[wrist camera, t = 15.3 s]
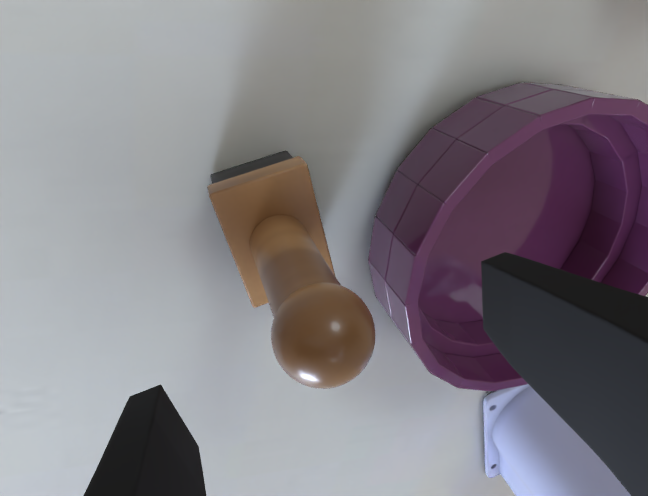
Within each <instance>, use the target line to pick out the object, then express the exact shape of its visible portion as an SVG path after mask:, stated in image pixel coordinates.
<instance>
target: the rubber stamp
mask: <svg viewBox="0 0 648 496" xmlns="http://www.w3.org/2000/svg"><path fill="white" fill-rule="evenodd" d="M211 179H212V183H213V184H211V185H208V187H207V188H208V193H209V197H210V199H211V202H212V205H213V207H214V210H215V212H216V215H217V217H218V220H219V222H220V225H221V227H222V230H223V232H224V235H225V238H226V240H227V243H228V245H229V248H230V250H231V253H232V255H233V258H234V260H235V263H236V266H237V268H238V271H239V273H240V276H241V278H242V281H243V283H244V286H245V288H246V291H247V293H248V296H249V299H250V301H251V304H252V306H253V307H254V308H255V307H258V306H261V305H263V304H266V303H269V305H270V307H271V310H272V313H273V316H274V320H273V324H272V330H271V341H272V347H273V351H274V354H275V356H276V359H277V361H278V363H279V364H280V366H281V367H282V368H283V370H284V371H285V372H286V373H287V374H288V375H289V376H290V377H291V378H293V379H294V380H296V381H297V382H299V383H301V384H303V385H306V386H309V387H313V388H322V389H326V388H334V387H338V386H340V385H343V384H345V383H347V382H349V381H351V380H352V379H354V378H355V377H356V376H357V375H359V374H360V373H361V372H362V370H363V369H364V368H365V367H366V365H367V363H368V362H369V360H370V358H371V356H372V353H373V349H374V345H375V326H374V322H373V318H372V315H371V313H370V311H369V309H368V307H367V306H366V305H365V303H364V302H363V301H362V299H361V298H360V297H359V296H357V295H356V294H355V293H354V292H352V291H351V290H349V289H347V288H345V287H343V286H341V285H340V283H339V282H338V280H337V279H336V277H335V273H334V269H333V265H332V261H331V257H330V254H329V250H328V246H327V242H326V238H325V234H324V230H323V226H322V222H321V218H320V214H319V210H318V206H317V202H316V198H315V194H314V190H313V186H312V182H311V178H310V174H309V170H308V166H307V164H306V162H305V161H304V160H303V159H302V158H301V157H300V156H297V157H294V158H292V157H291V155H290V154H289V153H288V152H287V151H283V152H280V153H277V154H274V155H270V156H267V157H264V158H261V159H258V160H255V161H252V162H248V163H245V164H242V165H239V166H236V167H233V168H230V169H227V170H223V171H220V172H217V173H214V174H211Z"/></svg>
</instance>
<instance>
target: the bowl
mask: <svg viewBox="0 0 648 496" xmlns="http://www.w3.org/2000/svg"><path fill="white" fill-rule="evenodd" d="M504 252H507V253H510V254H514V255H517V256H521V257H524V258H527V259H530V260H533V261H536V262H539V263H542V264H545V265H548V266H551V267H554V268H557V269H560V270H563V271H566V272H569V273H572V274H575V275H578V276H582V277H585V278H588V279H591V280H594V281H597V282H600V283H603V284H606V285H609V286H613V287H616V288H619V289H622V290H626V291H629V292H632V293H636V294H639V295H642V296H646V294H647V293H648V105H647V104H645V103H644V102H642V101H641V100H638V99H633V98H628V97H623V96H618V95H613V94H607V93H602V92H596V91H592V90H587V89H581V88H576V87H571V86H566V85H559V84H543V83H528V82H523V83H518V84H515V85H512V86H508V87H505V88H502V89H499V90H496V91H493V92H490V93H487V94H484V95H480V96H477V97H476V98H474V99H472V100H471V101H469V102H468V103H466V104H465V105H464V106H462V107H461V108H459V109H458V110H456V111H455V112H454V113H452V114H451V115H449V116H448V117H446V118H445V119H444V120H442V121H441V122H439V123H438V124H436V125H435V126H434V127H433V128H431V129H430V130H429V131H428V132H427V133H426V135H425V136H424V137H423V138H422V139H421V141H420V142H419V143H418V144H417V145H416V147H415V148H414V149H413V150H412V151H411V153H410V154H409V155H408V156H407V157H406V159H405V160H404V161H403V162H402V163H401V165H400V166H399V167H398V168H397V170H396V172H395V174H394V176H393V178H392V180H391V183H390V185H389V187H388V189H387V191H386V193H385V195H384V198H383V200H382V202H381V204H380V206H379V208H378V210H377V212H376V216H375V218H374V225H373V231H372V238H371V245H370V251H369V258H368V261H369V266H370V271H371V276H372V282H373V287H374V292H375V296H376V298H377V299H378V301H379V302H380V304H381V305H382V307H383V308H384V310H385V311H386V312H387V314H388V315H389V317H390V318H391V320H392V321H393V323H394V324H395V325H396V327H397V328H398V330H399V331H400V332H401V334H402V335H403V337H404V338H405V339H406V341H407V342H408V344H409V345H410V346H411V348H412V349H413V350H414V352H415V353H416V355H417V356H418V357H419V359H420V360H421V362H422V363H423V364H424V366H425V367H426V369H427V370H428V371H429V372H430V373H431V374H433V375H435V376H437V377H439V378H440V379H442V380H444V381H446V382H448V383H450V384H451V385H453V386H455V387H457V388H462V389H472V390H481V391H497V390H502V389H507V388H512V387H517V386H523V385H527V384H528V383H527V382H526V381H525V380H524V379H523V378H522V377H521V376H520V375H519V374H518V373H517V372H516V371H515V370H514V368H513V367H512V366H511V365H510V364H509V363H508V361H507V360H506V359H505V358H504V356H503V355H502V354H501V352H500V351H499V350H498V349H497V347H496V346H495V344H494V343H493V342H492V340H491V339H490V338H489V336H488V335H487V333H486V332H485V331H484V329H483V306H482V272H481V261H483V260H486V259H488V258H491V257H494V256H496V255H499V254H501V253H504Z"/></svg>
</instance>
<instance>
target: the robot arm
mask: <svg viewBox="0 0 648 496" xmlns="http://www.w3.org/2000/svg"><path fill="white" fill-rule="evenodd" d="M481 272H482V306H483V329H484V331H485V332H486V333H487V335H488V336H489V338H490V339H491V340H492V342H493V343H494V344H495V346H496V347H497V349H498V350H499V351H500V352H501V354H502V355H503V356H504V358H505V359H506V360H507V361H508V363H509V364H510V365H511V366H512V367H513V368H514V370H515V371H516V372H517V373H518V374H519V375H520V376H521V377H522V378H523V379H524V380H525V381H526V382H527V383H528V384H527V385H523V386H517V387H512V388H507V389H502V390H498V391H496V392H493V393H491V394H489V395H487V396H486V397H485V398H484V400H483V415H484V445H485V473H486V474H487V476H488V477H489V478H492V477H495V476H497V475H499V474H501V475H502V477H503V478H504V480H505V481H506V482H507V484H508V485H509V487H510V488H511V489H512V491H513V492H514V494H515V495H516V496H648V297H646V296H642V295H639V294H636V293H632V292H629V291H626V290H622V289H619V288H616V287H613V286H609V285H606V284H603V283H600V282H597V281H594V280H591V279H588V278H585V277H582V276H578V275H575V274H572V273H569V272H566V271H563V270H560V269H557V268H554V267H551V266H548V265H545V264H542V263H539V262H536V261H533V260H530V259H527V258H524V257H521V256H517V255H514V254H510V253H507V252H504V253H501V254H499V255H496V256H494V257H491V258H488V259H486V260H483V261H481ZM84 496H206V491H205V484H204V477H203V471H202V465H201V459H200V453H199V447H198V445H197V443H196V441H195V440H194V438H193V437H192V435H191V433H190V432H189V430H188V428H187V427H186V425H185V423H184V422H183V420H182V419H181V417H180V415H179V414H178V412H177V410H176V409H175V407H174V405H173V404H172V402H171V401H170V399H169V397H168V396H167V394H166V392H165V391H164V389H163V387H162V386H161V385H158V386H156V387H153V388H151V389H148V390H145V391H143V392H140V393H138V394H135V395H132V396H130V398H129V400H128V401H127V403H126V406H125V408H124V410H123V412H122V414H121V416H120V418H119V421H118V423H117V425H116V427H115V430H114V432H113V434H112V436H111V438H110V441H109V443H108V445H107V447H106V449H105V452H104V454H103V456H102V458H101V460H100V462H99V465H98V467H97V469H96V471H95V473H94V475H93V477H92V479H91V481H90V484H89V486H88V488H87V490H86V492H85V494H84Z"/></svg>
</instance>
